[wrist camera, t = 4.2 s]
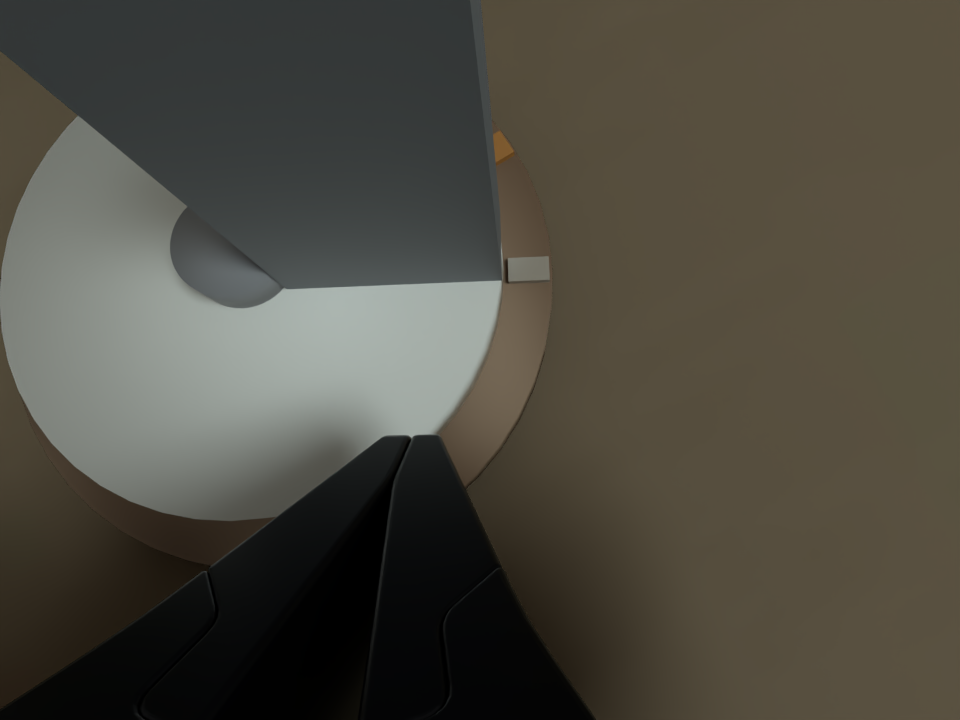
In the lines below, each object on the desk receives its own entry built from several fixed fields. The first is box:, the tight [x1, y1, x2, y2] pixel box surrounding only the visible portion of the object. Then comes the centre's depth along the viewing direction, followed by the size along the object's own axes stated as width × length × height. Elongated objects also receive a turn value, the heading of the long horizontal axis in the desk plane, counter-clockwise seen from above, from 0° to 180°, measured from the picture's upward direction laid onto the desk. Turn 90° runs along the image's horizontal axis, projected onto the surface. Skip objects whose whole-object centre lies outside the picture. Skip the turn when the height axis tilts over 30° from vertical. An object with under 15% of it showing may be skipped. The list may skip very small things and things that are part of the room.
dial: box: [0, 0, 504, 521], centre depth 10 cm, size 12×12×12 cm
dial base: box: [20, 120, 553, 566], centre depth 17 cm, size 14×14×2 cm
